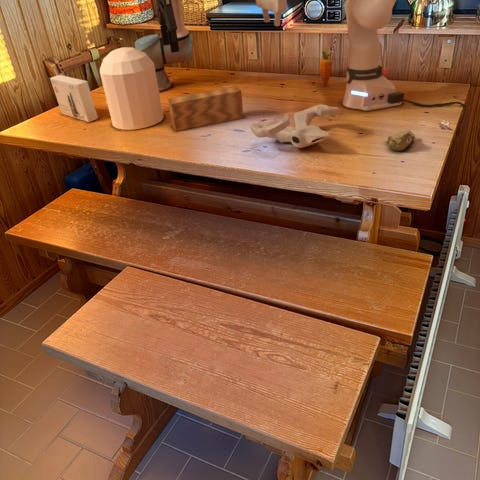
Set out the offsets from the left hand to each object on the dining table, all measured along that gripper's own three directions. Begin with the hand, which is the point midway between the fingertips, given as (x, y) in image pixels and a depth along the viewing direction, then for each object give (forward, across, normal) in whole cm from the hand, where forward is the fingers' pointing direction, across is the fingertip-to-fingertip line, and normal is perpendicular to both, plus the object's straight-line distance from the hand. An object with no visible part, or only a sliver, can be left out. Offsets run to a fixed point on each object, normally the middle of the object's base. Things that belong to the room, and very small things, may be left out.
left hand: (171, 48), depth 161 cm
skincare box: (+28, +36, +38) cm, 60 cm away
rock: (+29, -55, -59) cm, 86 cm away
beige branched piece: (+29, -38, -32) cm, 58 cm away
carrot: (+28, +15, -69) cm, 76 cm away
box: (+29, 0, -10) cm, 30 cm away
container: (+29, +18, +15) cm, 37 cm away
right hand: (-4, -4, -37) cm, 37 cm away
